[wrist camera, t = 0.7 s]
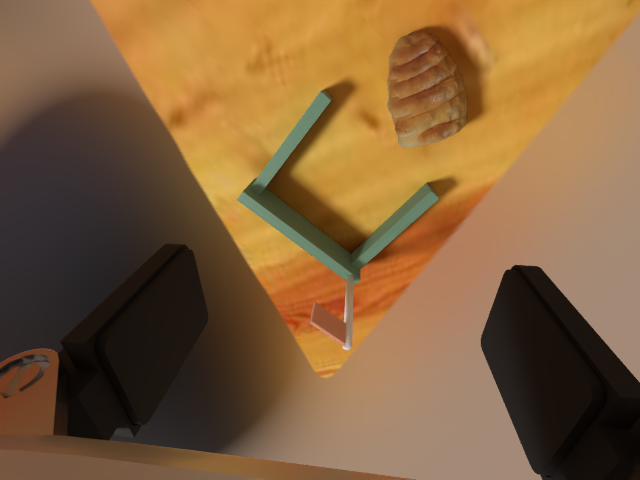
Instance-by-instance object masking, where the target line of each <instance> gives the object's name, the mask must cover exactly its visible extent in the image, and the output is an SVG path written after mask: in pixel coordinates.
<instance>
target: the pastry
mask: <svg viewBox="0 0 640 480" xmlns="http://www.w3.org/2000/svg"><path fill="white" fill-rule="evenodd" d="M388 91H389V100H388V109H389V111H390V113H391V114H392V118H393V122H394V124H395V130H396V133H397V135H398V143H399V145H400V146H402V147H404V148H413V147H416V146H424V145H427V144H431V143H435V142H438V141H441V140H444V139H446V138H447V137H449V136H450V135H454V134H456V133H457V132H459V131H460V130H461V129H462V128H463V127H464V126H465V125H466V123H467V118H466V111H467V107H468V105H467V102H468V100H467V93H466V91H465V88H464V85H463V79H462V74H461V73H460V72H459V70H458V67H457V65H456V63H455V62H454V61H453V60H452V58H451V55H450V54H449V53H448V52H447V51H446V50H445V49H444V48H443V46H442V44H441V43H440V40H439V38H438V37H437V36H434V35H432V34H430V33H426V32H424V31H416V32H412V33H410V34H408V35H406V36H403V37H401V38H400V39H399V40H398V42H397V43H396V45H395V47H394V49H393V51H392V53H391V54H390V56H389V76H388Z"/></svg>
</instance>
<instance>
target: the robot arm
mask: <svg viewBox="0 0 640 480" xmlns="http://www.w3.org/2000/svg"><path fill="white" fill-rule="evenodd" d="M207 321H208V312H207V307H206V303H205V299H204V295H203V291H202V286H201V283H200V278H199V274H198V270H197V265H196V261H195V257H194V253H193V251H192V250H189V249H188V247H187V246H186V245H181V244H165V245H164V246H162V247H161V248H160V249H159V250H158V251H157V252H156V253H155V254H154V255H153V256H152V257H151V258H149V259H148V260H147V261H146V262H145V263H144V264H143V265H142V266H141V267H140V268H139V269H138V270H137V271H135V272H134V273H133V274H132V275H131V276H130V277H129V278H128V279H127V280H126V281H125V282H124V283H123V284H121V285H120V286H119V287H118V288H117V289H116V290H115V291H114V292H113V293H112V294H111V295H110V296H108V297H107V298H106V299H105V300H104V301H103V302H102V303H101V304H100V305H99V306H98V307H97V308H96V309H95V310H94V311H92V312H91V313H90V314H89V315H88V316H87V317H86V318H85V319H84V320H83V321H82V322H81V323H79V324H78V325H77V326H76V327H75V328H74V329H73V330H72V331H71V332H70V333H69V334H68V335H67V336H65V337H64V338H63V339H62V340H61V341H60V342H61V344H62V346H63V347H64V348H63V349H62V350H61V351H60V352H59V353H58V354H57V353H56V352H54V351H53V350H50V349H34V350H30V351H26V352H23V353H20V354H18V355H15V356H13V357H11V358H9V359H7V360H5V361H4V362H2V363H0V480H414V479H407V478H400V477H392V476H385V475H377V474H370V473H362V472H355V471H347V470H339V469H331V468H324V467H317V466H309V465H301V464H294V463H286V462H278V461H271V460H263V459H255V458H248V457H240V456H232V455H224V454H216V453H208V452H200V451H192V450H184V449H176V448H168V447H160V446H152V445H144V444H136V443H128V442H118V441H109V439H110V438H111V436H112V435H113V433H114V434H115V435H118V436H126V437H135V435H136V434H137V432H138V430H139V429H140V427H141V426H142V425H144V424H146V423H147V422H148V421H149V420H150V419H151V417H152V415H153V414H154V412H155V410H156V409H157V407H158V405H159V403H160V402H161V400H162V399H163V396H164V395H165V393H166V392H167V390H168V388H169V387H170V385H171V383H172V382H173V380H174V378H175V377H176V375H177V373H178V371H179V370H180V368H181V366H182V364H183V363H184V361H185V360H186V358H187V356H188V354H189V353H190V351H191V349H192V348H193V346H194V344H195V343H196V341H197V339H198V338H199V336H200V334H201V333H202V331H203V329H204V328H205V326H206V324H207ZM481 347H482V350H483V353H484V355H485V357H486V360H487V362H488V365H489V367H490V370H491V372H492V374H493V377H494V379H495V382H496V384H497V386H498V389H499V391H500V394H501V396H502V398H503V401H504V403H505V406H506V408H507V410H508V413H509V415H510V418H511V420H512V422H513V425H514V427H515V430H516V432H517V434H518V437H519V439H520V442H521V444H522V446H523V449H524V451H525V454H526V456H527V458H528V461H529V463H530V465H531V467H532V469H533V471H534V472H535V473H537V474H540V475H541V477H542V480H640V382H639V381H638V380H637V379H636V378H635V377H634V376H633V374H632V373H631V372H630V371H629V370H628V369H627V367H626V366H625V365H624V364H623V363H622V362H621V361H620V359H619V358H618V357H617V356H616V355H615V354H614V353H613V351H612V350H611V349H610V348H609V347H608V345H607V344H606V343H605V342H604V341H603V340H602V339H601V337H600V336H599V335H598V334H597V333H596V332H595V331H594V329H593V328H592V327H591V326H590V325H589V323H588V322H587V321H586V320H585V319H584V318H583V317H582V315H581V314H580V313H579V312H578V311H577V310H576V308H575V307H574V306H573V305H572V304H571V303H570V301H569V300H568V299H567V298H566V297H565V296H564V295H563V293H562V292H561V291H560V290H559V289H558V288H557V287H556V285H555V284H554V283H553V282H552V281H551V279H550V278H549V277H548V276H547V275H546V274H545V273H544V271H543V270H542V269H541V268H540V267H537V266H524V265H515V266H513V267H512V268H511V270H506V271H505V273H504V275H503V278H502V281H501V283H500V286H499V289H498V292H497V294H496V297H495V300H494V303H493V306H492V308H491V311H490V314H489V317H488V320H487V322H486V325H485V328H484V331H483V334H482V337H481Z"/></svg>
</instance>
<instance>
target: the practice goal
mask: <svg viewBox="0 0 640 480" xmlns="http://www.w3.org/2000/svg"><path fill="white" fill-rule="evenodd" d="M332 99H333V98H332V97H331V96H330V95H329V94H328V93H327V92H326V91H325V90H322V91H321V92H320V93H319V94H318V96H317V97H316V98H315V100H314V101H313V103H312V104H311V105H310V107H309V108H308V109H307V111H306V112H305V114H304V115H303V116H302V118H301V119H300V120H299V122H298V123H297V124H296V126H295V127H294V129H293V130H292V131H291V133H290V134H289V135H288V137H287V138H286V140H285V141H284V142H283V144H282V145H281V146H280V148H279V149H278V151H277V152H276V153H275V155H274V156H273V157H272V159H271V160H270V161H269V163H268V164H267V166H266V167H265V168H264V170H263V171H262V172H261V174H260V175H259V177H258V178H257V179H256V180H255V179H254V180H253V181H252V182H251V183H250V184H249V186H248V187H247V188H246V189H245V190H244V191H243V192H242V194H241V195H240V196H239V198H238V199H237V200H238V201H239V202H240V203H242V204H243V205H244V206H246V207H247V208H249V209H250V210H251V211H253V212H254V213H255V214H257V215H258V216H259V217H261V218H262V219H263V220H265V221H266V222H267V223H269V224H270V225H271V226H273V227H274V228H276V229H277V230H278V231H280V232H281V233H282V234H284V235H285V236H286V237H288V238H289V239H290V240H292V241H293V242H294V243H296V244H297V245H299V246H300V247H301V248H303V249H304V250H305V251H307V252H308V253H309V254H311V255H312V256H313V257H315V258H316V259H317V260H319V261H320V262H321V263H323V264H324V265H326V266H327V267H328V268H330V269H331V270H332V271H334V272H335V273H336V274H338V275H339V276H340V277H342V278H343V279H344V280H346V297H345V315H344V322H343V321H342V320H340V319H339V318H337V317H336V316H335V315H333V314H332V313H330V312H329V311H327V310H326V309H325V308H323V307H322V306H320V305H319V304H317V303H316V302H315V303H314V304H313V309H312V314H311V319H310V324H312V325H313V326H315V327H316V328H318V329H319V330H320V331H322V332H323V333H325V334H326V335H328V336H329V337H331V338H332V339H334V340H335V341H337V342H338V343H340V344H341V345H343V349H345V350H351V349H352V328H353V287H354V285H355V284H356V283H357V282H358V281H360V269H361V268H362V267H363V266H364V265H365V264H367V263H368V262H369V261H370V260H371V259H372V258H373V257H374V256H376V255H377V254H378V253H379V252H380V251H381V250H382V249H383V248H385V247H386V246H387V245H388V244H389V243H390V242H391V241H392V240H394V239H395V238H396V237H397V236H398V235H399V234H400V233H401V232H402V231H404V230H405V229H406V228H407V227H408V226H409V225H410V224H411V223H413V222H414V221H415V220H416V219H417V218H418V217H419V216H420V215H422V214H423V213H424V212H425V211H426V210H427V209H428V208H429V207H431V206H432V205H433V204H434V203H435V202H436V201H437V200H438V199H439V197H438V196H437V194H436V192H435V191H434V189H432V188H431V187H430V186H429V185H428V184H427V183H426V184H425V185H424V186H423V187H422V188H421V189H419V190H418V191H417V192H416V193H415V194H414V195H413V196H412V197H411V198H410V199H409V200H408V201H407V202H406V203H405V204H404V205H402V206H401V207H400V208H399V209H398V210H397V211H396V212H395V213H394V214H393V215H392V216H391V217H390V218H389V219H388V220H386V221H385V222H384V223H383V224H382V225H381V226H380V227H379V228H378V229H377V230H376V231H375V232H374V233H373V234H372V235H371V236H369V237H368V238H367V239H366V240H365V241H364V242H363V243H362V244H361V245H360V246H359V247H358V248H357V249H356V250H355V251H354V252H352V253H350V252H348V251H347V250H346V249H344V248H343V247H342V246H340V245H339V244H338V243H337V242H335V241H334V240H333V239H331V238H330V237H329V236H327V235H326V234H325V233H324V232H322V231H321V230H320V229H318V228H317V227H316V226H315V225H313V224H312V223H311V222H309V221H308V220H307V219H305V218H304V217H303V216H302V215H300V214H299V213H298V212H296V211H295V210H294V209H292V208H291V207H290V206H289V205H287V204H286V203H285V202H283V201H282V200H281V199H279V198H278V197H277V196H276V195H274V194H273V193H272V192H270V191H269V190H268V189H266V188H265V187H266V186H267V185H268V183H269V182H270V181H271V179H272V178H273V177H274V175H275V174H276V173H277V171H278V170H279V169H280V167H281V166H282V165H283V163H284V162H285V161H286V160H287V158H288V157H289V156H290V154H291V153H292V152H293V150H294V149H295V148H296V146H297V145H298V144H299V142H300V141H301V140H302V138H303V137H304V136H305V134H306V133H307V132H308V131H309V129H310V128H311V127H312V125H313V124H314V123H315V121H316V120H317V119H318V117H319V116H320V115H321V113H322V112H323V111H324V109H325V108H326V107H327V105H328V104H329V103H330V102H331V100H332Z"/></svg>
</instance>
